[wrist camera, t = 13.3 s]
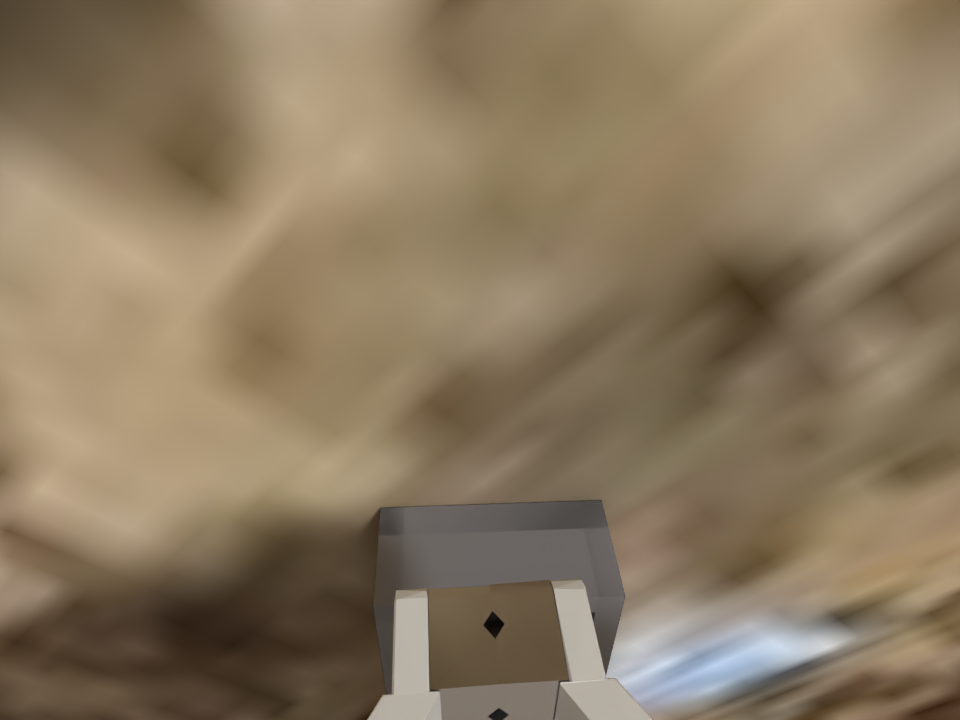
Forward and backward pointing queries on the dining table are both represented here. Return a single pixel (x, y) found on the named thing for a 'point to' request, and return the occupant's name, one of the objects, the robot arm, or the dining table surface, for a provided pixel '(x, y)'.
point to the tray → (496, 557)
